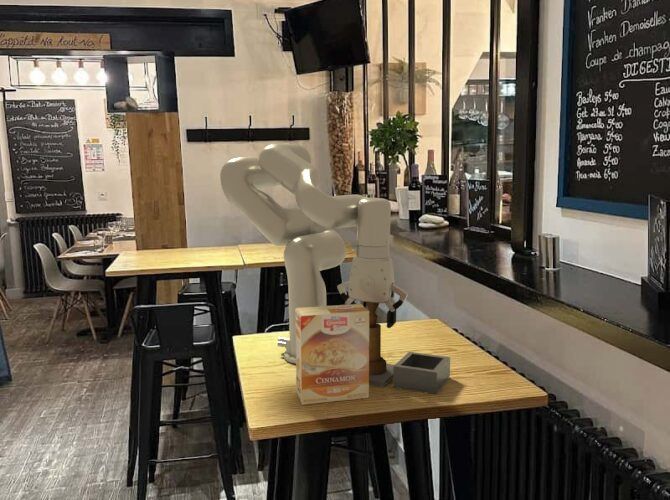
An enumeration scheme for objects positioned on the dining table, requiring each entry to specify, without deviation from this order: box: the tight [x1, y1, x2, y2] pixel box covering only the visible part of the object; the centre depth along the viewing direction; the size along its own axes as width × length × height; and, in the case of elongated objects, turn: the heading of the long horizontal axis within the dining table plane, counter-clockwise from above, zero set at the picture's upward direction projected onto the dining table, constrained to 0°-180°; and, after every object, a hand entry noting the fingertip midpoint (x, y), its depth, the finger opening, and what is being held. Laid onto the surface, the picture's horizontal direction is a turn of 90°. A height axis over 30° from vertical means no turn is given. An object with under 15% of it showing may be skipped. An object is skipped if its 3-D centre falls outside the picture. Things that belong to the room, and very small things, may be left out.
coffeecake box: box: [295, 303, 370, 406], centre depth 135 cm, size 15×7×20 cm, turn 103°
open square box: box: [392, 351, 451, 395], centre depth 143 cm, size 10×11×5 cm
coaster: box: [369, 363, 395, 387], centre depth 148 cm, size 10×12×1 cm
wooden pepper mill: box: [365, 301, 387, 375], centre depth 147 cm, size 7×6×18 cm
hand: (371, 323), depth 147 cm, fingers open, 9 cm apart
